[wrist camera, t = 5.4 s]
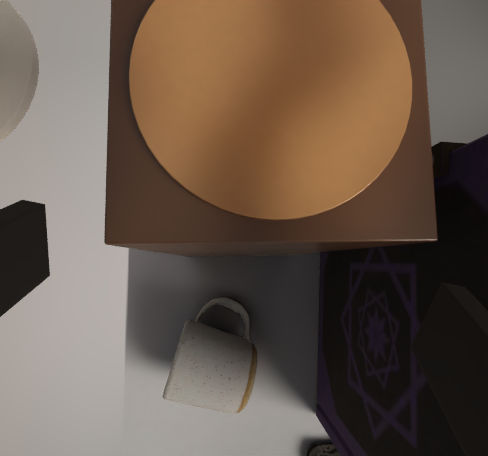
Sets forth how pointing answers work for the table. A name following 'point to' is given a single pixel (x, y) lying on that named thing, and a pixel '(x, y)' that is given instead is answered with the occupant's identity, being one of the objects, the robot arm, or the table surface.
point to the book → (399, 318)
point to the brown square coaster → (268, 123)
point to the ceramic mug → (213, 365)
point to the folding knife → (323, 450)
